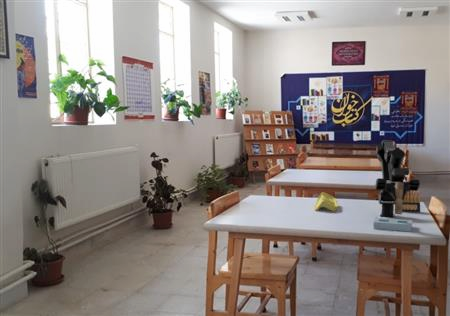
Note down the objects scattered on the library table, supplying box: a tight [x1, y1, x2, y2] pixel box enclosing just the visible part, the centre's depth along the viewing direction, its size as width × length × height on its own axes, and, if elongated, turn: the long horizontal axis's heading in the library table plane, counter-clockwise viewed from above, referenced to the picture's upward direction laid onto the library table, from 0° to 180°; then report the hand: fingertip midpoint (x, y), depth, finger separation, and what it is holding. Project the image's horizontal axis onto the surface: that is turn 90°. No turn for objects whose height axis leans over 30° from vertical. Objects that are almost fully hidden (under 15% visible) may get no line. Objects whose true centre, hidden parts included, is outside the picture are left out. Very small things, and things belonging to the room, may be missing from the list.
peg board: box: [373, 217, 413, 232], centre depth 223 cm, size 10×16×3 cm, turn 68°
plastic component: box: [314, 192, 339, 212], centre depth 270 cm, size 20×7×10 cm
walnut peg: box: [394, 182, 403, 215], centre depth 220 cm, size 3×3×14 cm
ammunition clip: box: [402, 189, 421, 213], centre depth 258 cm, size 11×2×12 cm, turn 79°
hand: (399, 199), depth 219 cm, fingers closed on walnut peg, 3 cm apart
